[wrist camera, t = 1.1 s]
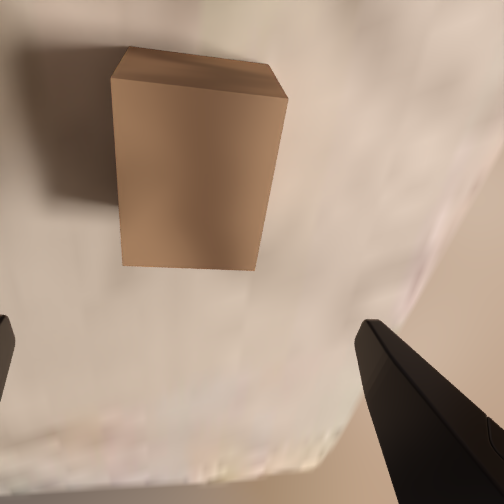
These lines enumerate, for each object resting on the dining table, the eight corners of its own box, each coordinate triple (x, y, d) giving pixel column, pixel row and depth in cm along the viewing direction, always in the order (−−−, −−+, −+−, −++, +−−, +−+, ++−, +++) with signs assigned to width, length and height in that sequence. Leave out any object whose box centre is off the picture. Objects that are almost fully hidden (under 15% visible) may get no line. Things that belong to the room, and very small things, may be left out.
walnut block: (135, 206, 22) (122, 265, 18) (130, 45, 17) (110, 77, 13) (244, 213, 23) (254, 270, 19) (268, 63, 18) (288, 98, 14)
